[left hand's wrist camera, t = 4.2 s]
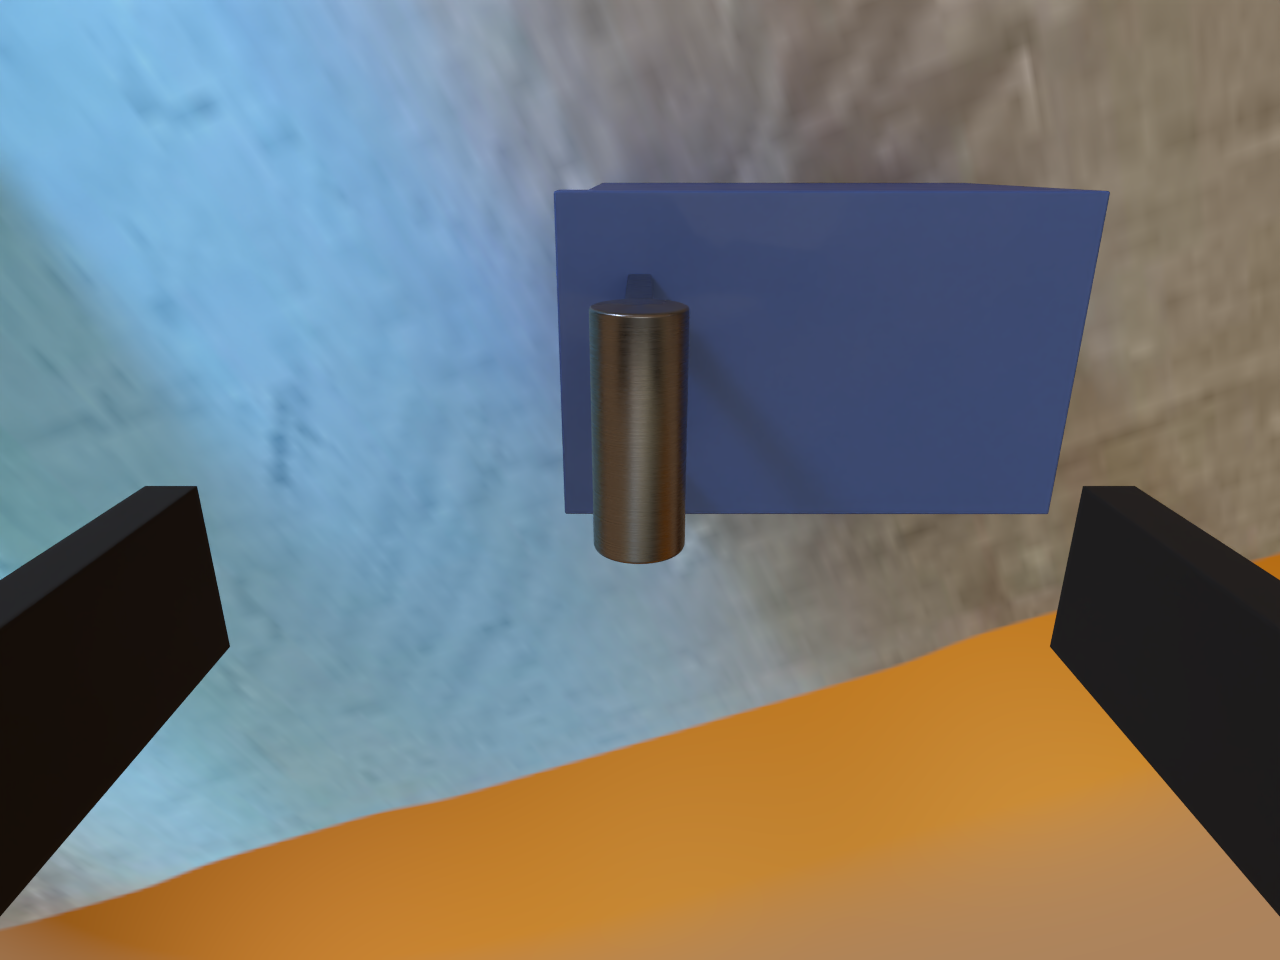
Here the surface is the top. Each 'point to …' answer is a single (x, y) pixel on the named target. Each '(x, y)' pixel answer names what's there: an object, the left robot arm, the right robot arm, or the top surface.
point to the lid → (815, 352)
